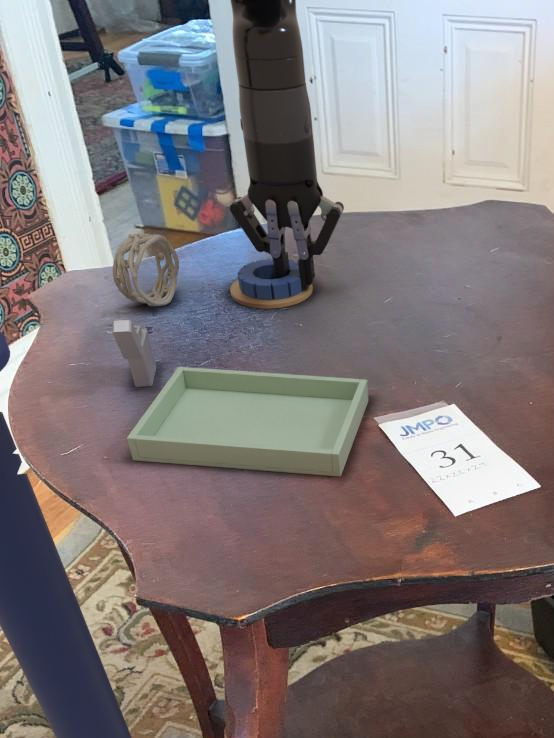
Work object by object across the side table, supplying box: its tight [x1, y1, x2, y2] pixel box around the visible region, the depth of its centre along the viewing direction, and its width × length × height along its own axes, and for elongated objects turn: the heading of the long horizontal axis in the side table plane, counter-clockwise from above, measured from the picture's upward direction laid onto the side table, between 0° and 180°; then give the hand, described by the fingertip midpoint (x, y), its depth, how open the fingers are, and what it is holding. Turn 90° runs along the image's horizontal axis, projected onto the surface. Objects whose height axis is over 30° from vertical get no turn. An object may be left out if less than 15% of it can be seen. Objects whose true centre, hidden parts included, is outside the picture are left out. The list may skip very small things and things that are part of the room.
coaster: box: [229, 278, 314, 310], centre depth 105 cm, size 10×10×1 cm
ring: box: [237, 258, 304, 300], centre depth 104 cm, size 8×8×2 cm
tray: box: [126, 366, 369, 477], centre depth 81 cm, size 19×13×2 cm
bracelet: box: [112, 232, 180, 307], centre depth 100 cm, size 4×8×8 cm, turn 157°
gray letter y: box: [111, 319, 157, 388], centre depth 85 cm, size 7×2×8 cm, turn 8°
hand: (296, 285), depth 104 cm, fingers closed on ring, 2 cm apart
